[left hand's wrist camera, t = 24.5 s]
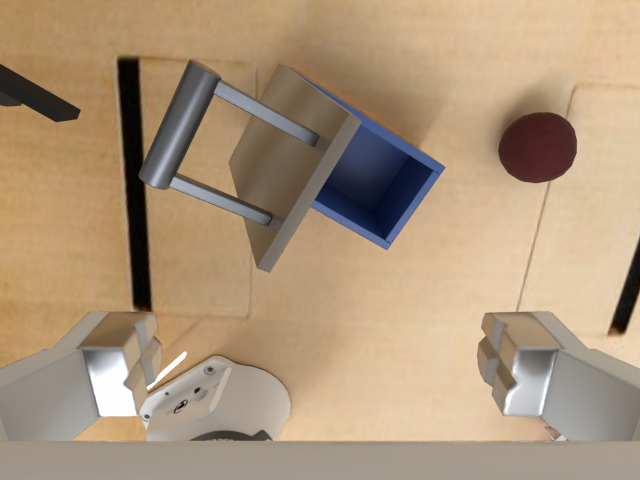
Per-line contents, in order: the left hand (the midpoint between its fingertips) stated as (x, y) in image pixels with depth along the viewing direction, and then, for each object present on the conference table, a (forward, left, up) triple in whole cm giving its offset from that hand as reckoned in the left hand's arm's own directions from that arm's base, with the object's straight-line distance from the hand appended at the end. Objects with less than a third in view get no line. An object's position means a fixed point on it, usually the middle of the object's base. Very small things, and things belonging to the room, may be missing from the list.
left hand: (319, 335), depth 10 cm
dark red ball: (+21, -10, -40) cm, 47 cm away
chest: (+1, -2, -40) cm, 40 cm away
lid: (-2, +2, -21) cm, 21 cm away
